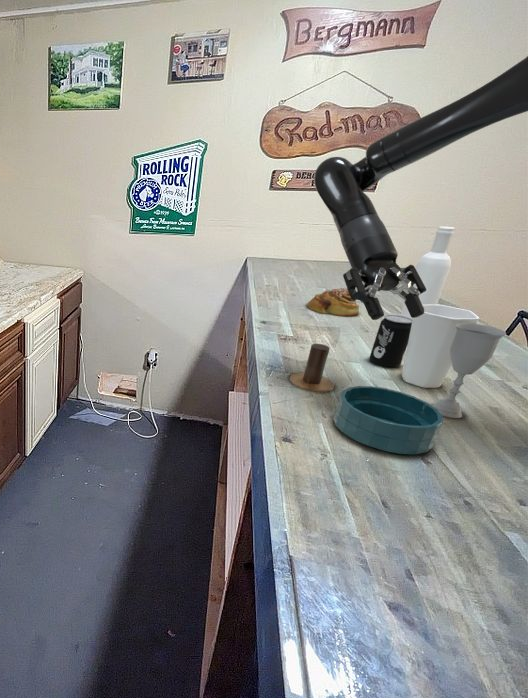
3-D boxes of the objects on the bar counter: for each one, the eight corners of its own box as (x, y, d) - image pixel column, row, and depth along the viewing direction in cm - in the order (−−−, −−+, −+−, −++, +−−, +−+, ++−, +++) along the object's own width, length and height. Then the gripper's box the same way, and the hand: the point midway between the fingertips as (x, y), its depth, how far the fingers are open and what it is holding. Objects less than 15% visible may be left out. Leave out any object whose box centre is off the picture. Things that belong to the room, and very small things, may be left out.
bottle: (396, 328, 140) (430, 227, 128) (396, 321, 146) (428, 224, 134) (429, 333, 136) (467, 229, 123) (427, 326, 141) (463, 226, 129)
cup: (389, 368, 113) (412, 301, 106) (440, 376, 109) (467, 307, 102) (398, 386, 104) (423, 315, 97) (454, 396, 100) (485, 322, 93)
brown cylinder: (318, 378, 106) (328, 345, 103) (321, 385, 103) (331, 350, 100) (301, 376, 107) (310, 342, 104) (303, 382, 104) (312, 348, 101)
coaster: (329, 378, 108) (330, 376, 108) (337, 394, 100) (337, 392, 100) (287, 372, 111) (288, 370, 110) (292, 388, 103) (292, 386, 103)
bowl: (414, 420, 90) (424, 393, 88) (445, 465, 77) (458, 434, 75) (326, 406, 95) (333, 380, 93) (341, 446, 82) (350, 417, 79)
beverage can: (400, 371, 111) (416, 324, 107) (368, 364, 115) (382, 319, 110) (399, 361, 116) (414, 317, 112) (368, 356, 120) (382, 312, 115)
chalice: (430, 416, 92) (463, 332, 84) (419, 401, 98) (449, 321, 90) (475, 423, 89) (514, 337, 82) (461, 407, 95) (496, 326, 88)
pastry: (361, 318, 148) (368, 294, 145) (310, 313, 153) (315, 290, 150) (352, 307, 160) (359, 284, 156) (305, 302, 164) (310, 280, 161)
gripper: (348, 233, 86) (381, 309, 80) (413, 231, 88) (450, 305, 82) (322, 256, 93) (350, 328, 87) (383, 254, 95) (414, 323, 89)
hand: (398, 317), depth 85 cm, fingers open, 8 cm apart
